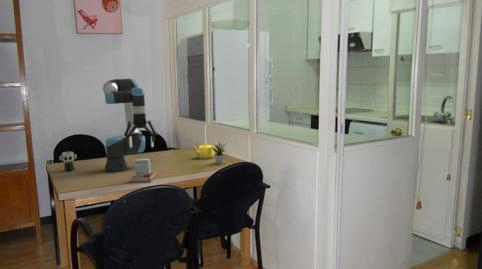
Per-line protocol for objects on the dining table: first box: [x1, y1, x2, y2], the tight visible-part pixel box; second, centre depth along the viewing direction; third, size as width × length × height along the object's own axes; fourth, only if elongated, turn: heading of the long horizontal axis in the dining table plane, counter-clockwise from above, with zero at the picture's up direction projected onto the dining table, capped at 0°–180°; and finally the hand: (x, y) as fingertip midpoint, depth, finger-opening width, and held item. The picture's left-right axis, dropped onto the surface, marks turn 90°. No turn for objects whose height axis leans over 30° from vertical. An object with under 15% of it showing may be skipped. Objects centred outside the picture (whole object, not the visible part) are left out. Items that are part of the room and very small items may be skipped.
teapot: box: [192, 142, 218, 160], centre depth 300 cm, size 22×16×11 cm
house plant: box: [210, 141, 229, 165], centre depth 280 cm, size 14×14×16 cm
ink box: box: [134, 158, 152, 178], centre depth 240 cm, size 9×5×12 cm, turn 90°
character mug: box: [59, 151, 78, 171], centre depth 270 cm, size 11×7×13 cm, turn 112°
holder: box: [129, 171, 158, 184], centre depth 241 cm, size 13×15×2 cm
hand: (141, 147), depth 238 cm, fingers open, 13 cm apart
